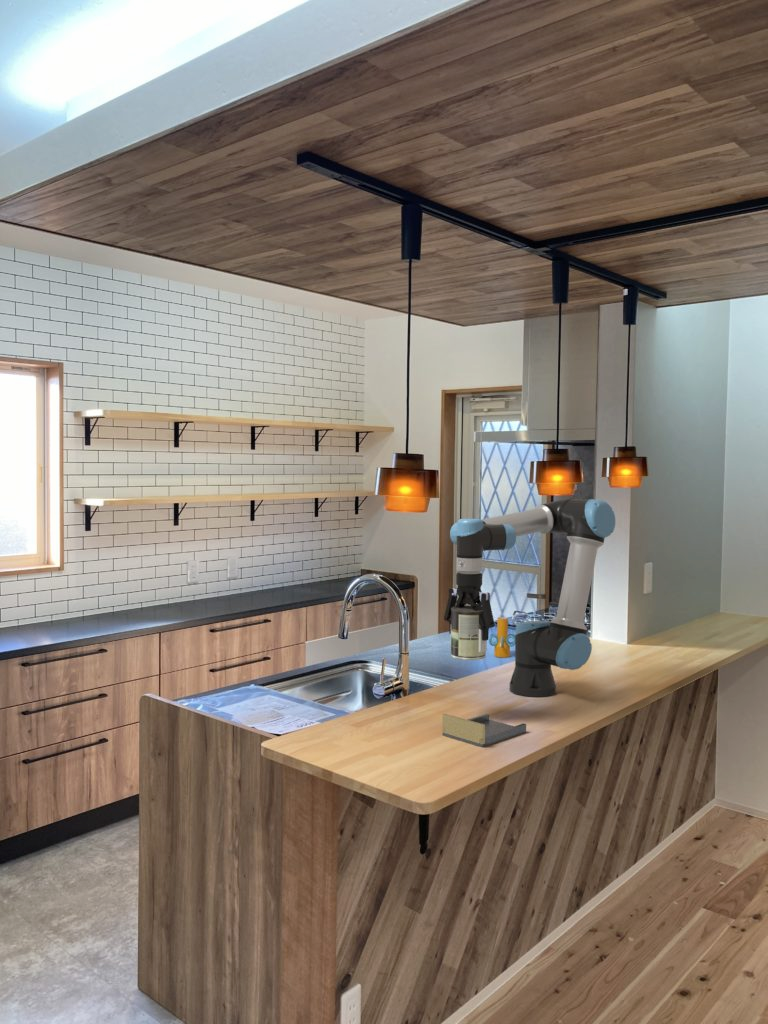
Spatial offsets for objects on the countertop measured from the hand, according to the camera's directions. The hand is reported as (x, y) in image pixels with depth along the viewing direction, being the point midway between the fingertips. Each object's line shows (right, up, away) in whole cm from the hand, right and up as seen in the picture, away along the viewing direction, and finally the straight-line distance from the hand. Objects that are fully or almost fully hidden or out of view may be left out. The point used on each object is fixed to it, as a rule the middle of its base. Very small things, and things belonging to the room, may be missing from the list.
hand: (468, 648), depth 248 cm
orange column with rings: (+22, -17, +87) cm, 91 cm away
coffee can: (0, -3, 0) cm, 3 cm away
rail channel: (+3, -21, -13) cm, 25 cm away
